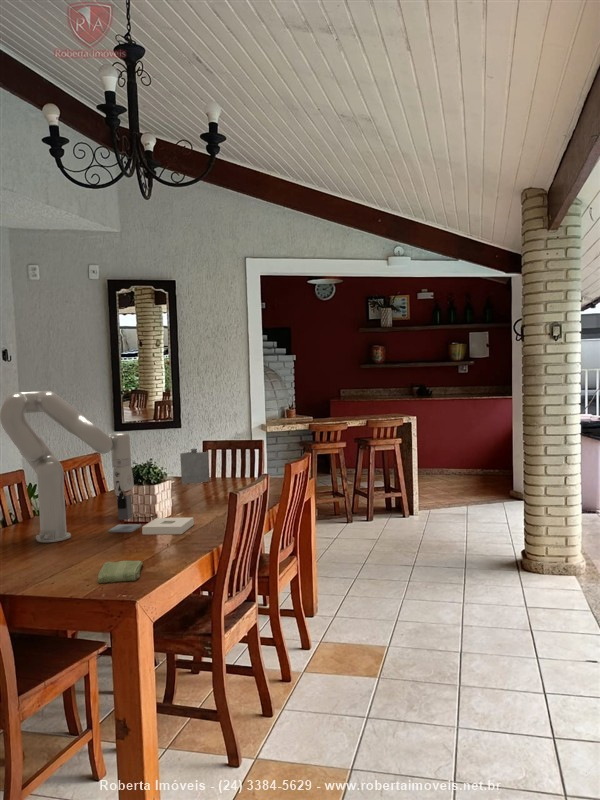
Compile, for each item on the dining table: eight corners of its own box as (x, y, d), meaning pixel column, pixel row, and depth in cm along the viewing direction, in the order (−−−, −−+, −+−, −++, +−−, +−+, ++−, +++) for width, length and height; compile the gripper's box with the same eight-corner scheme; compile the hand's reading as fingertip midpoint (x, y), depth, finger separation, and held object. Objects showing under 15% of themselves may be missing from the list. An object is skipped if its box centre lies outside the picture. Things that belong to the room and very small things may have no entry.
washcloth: (144, 565, 219) (143, 556, 219) (138, 582, 202) (138, 572, 202) (103, 569, 218) (102, 559, 217) (94, 586, 200) (93, 575, 200)
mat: (131, 532, 266) (131, 530, 266) (108, 532, 268) (108, 530, 268) (141, 526, 276) (141, 524, 276) (118, 526, 277) (118, 524, 277)
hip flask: (209, 482, 382) (208, 447, 382) (209, 483, 378) (207, 448, 378) (182, 483, 382) (180, 448, 381) (181, 484, 378) (179, 449, 377)
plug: (128, 519, 269) (126, 492, 269) (118, 519, 270) (116, 492, 269) (132, 517, 274) (130, 490, 273) (122, 517, 274) (120, 490, 274)
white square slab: (181, 534, 259) (181, 526, 259) (142, 534, 261) (142, 527, 261) (193, 524, 275) (193, 517, 275) (156, 524, 277) (156, 517, 277)
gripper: (121, 465, 262) (124, 511, 263) (138, 459, 278) (141, 502, 279) (104, 466, 263) (107, 512, 264) (121, 460, 279) (124, 503, 280)
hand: (124, 506), depth 272 cm, fingers closed on plug, 4 cm apart
